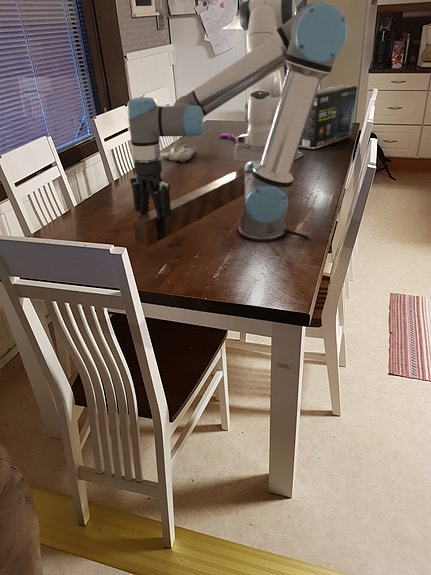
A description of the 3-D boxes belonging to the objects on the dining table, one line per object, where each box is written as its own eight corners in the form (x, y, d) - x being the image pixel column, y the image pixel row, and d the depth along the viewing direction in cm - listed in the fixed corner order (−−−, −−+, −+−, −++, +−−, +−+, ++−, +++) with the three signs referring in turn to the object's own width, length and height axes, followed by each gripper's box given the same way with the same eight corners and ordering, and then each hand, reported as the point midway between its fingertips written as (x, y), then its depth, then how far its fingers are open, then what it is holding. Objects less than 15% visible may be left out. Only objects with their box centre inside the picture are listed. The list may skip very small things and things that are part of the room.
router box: (314, 151, 231) (318, 94, 217) (296, 148, 237) (299, 92, 224) (352, 138, 251) (358, 85, 238) (335, 135, 258) (340, 83, 245)
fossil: (184, 156, 217) (163, 136, 220) (174, 174, 223) (154, 154, 227) (205, 153, 231) (186, 134, 234) (195, 171, 237) (176, 152, 240)
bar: (147, 247, 133) (144, 222, 129) (135, 243, 135) (132, 219, 131) (271, 179, 181) (272, 160, 177) (261, 178, 184) (261, 158, 180)
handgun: (220, 136, 265) (220, 133, 264) (233, 135, 266) (233, 132, 265) (227, 145, 248) (227, 141, 247) (241, 143, 249) (241, 140, 248)
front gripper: (180, 160, 124) (185, 238, 136) (133, 151, 133) (142, 225, 145) (162, 167, 119) (169, 248, 131) (114, 157, 128) (125, 234, 140)
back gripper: (288, 140, 167) (286, 177, 174) (241, 134, 177) (241, 169, 184) (279, 143, 162) (278, 181, 170) (232, 137, 173) (232, 173, 180)
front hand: (155, 236), depth 138 cm, fingers closed on bar, 5 cm apart
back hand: (258, 175), depth 177 cm, fingers closed on bar, 5 cm apart
